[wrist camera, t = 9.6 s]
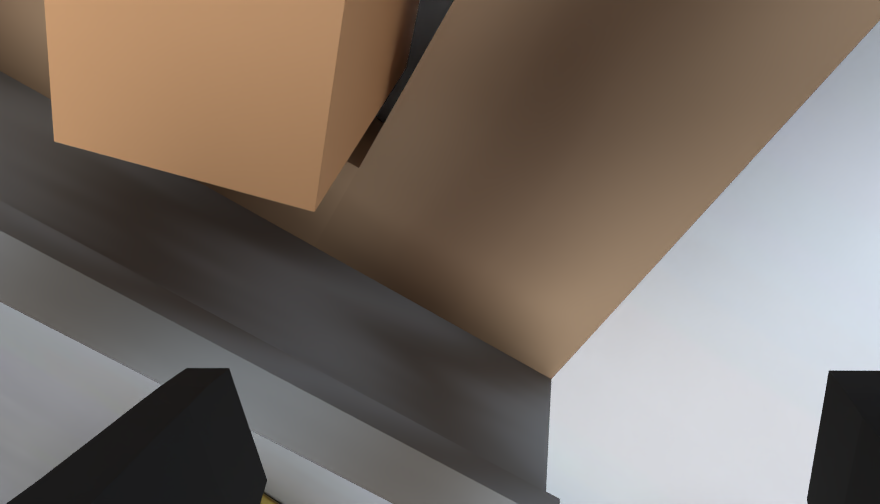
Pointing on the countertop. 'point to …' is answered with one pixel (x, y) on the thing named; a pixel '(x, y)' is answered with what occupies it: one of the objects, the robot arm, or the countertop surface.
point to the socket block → (418, 228)
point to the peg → (227, 85)
